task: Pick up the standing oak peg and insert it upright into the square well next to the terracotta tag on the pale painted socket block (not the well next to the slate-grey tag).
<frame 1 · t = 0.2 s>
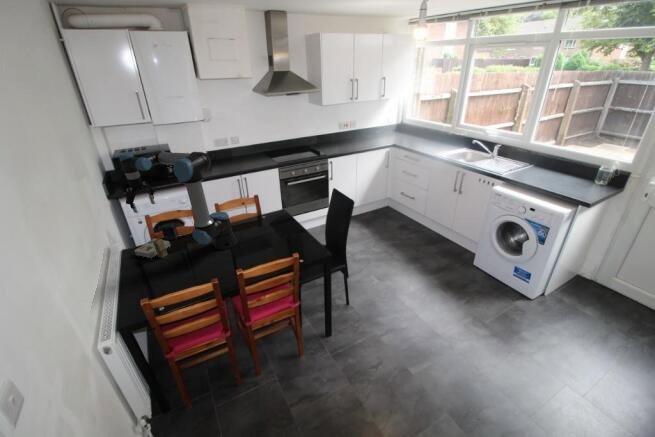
hand: (144, 208, 212), 27 cm above the table, fingers open, 13 cm apart
socket block: (153, 250, 216), on the table
box: (172, 238, 230), on the table
peg: (163, 256, 209), on the table
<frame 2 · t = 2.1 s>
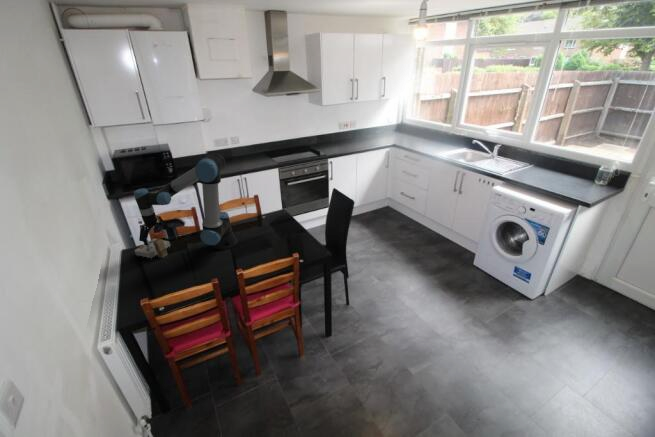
hand: (158, 243, 204), 10 cm above the table, fingers open, 13 cm apart
nothing on the table moved.
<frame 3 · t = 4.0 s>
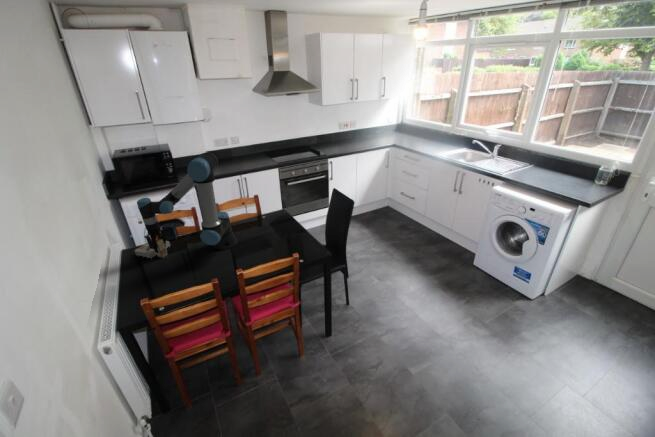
hand: (162, 253, 208), 2 cm above the table, fingers closed on peg, 4 cm apart
peg: (163, 256, 209), on the table, touching gripper
everything else where it was.
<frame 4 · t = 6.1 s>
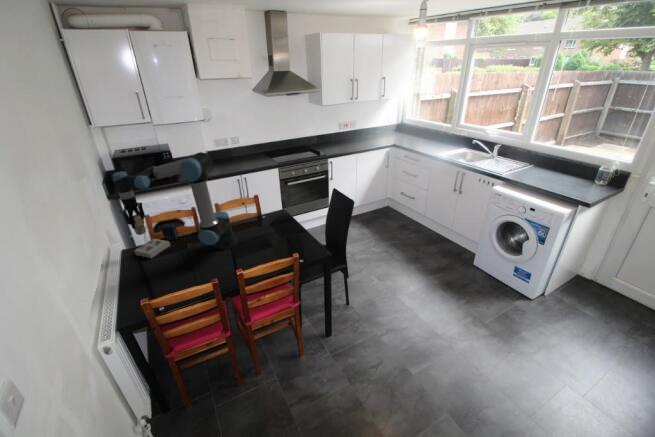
hand: (140, 230, 205), 18 cm above the table, fingers closed on peg, 4 cm apart
peg: (141, 233, 206), point 16 cm above the table, touching gripper
everything else where it was.
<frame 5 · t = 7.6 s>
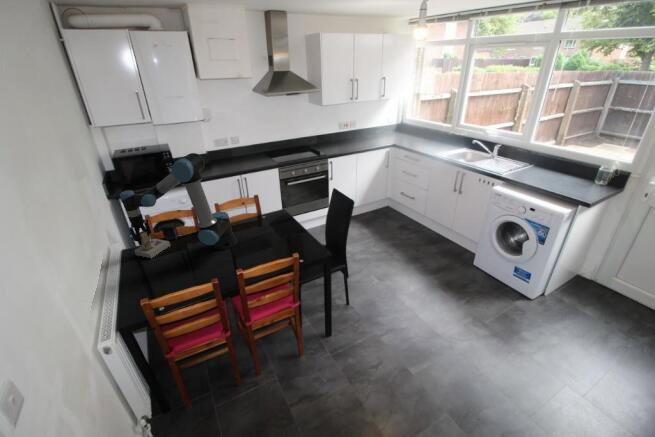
hand: (146, 246, 210), 6 cm above the table, fingers closed on peg, 4 cm apart
peg: (147, 248, 211), point 4 cm above the table, touching gripper
everything else where it was.
when the fingers open (5 cm above the table, at t = 8.6 s): peg drops 2 cm, resting on socket block.
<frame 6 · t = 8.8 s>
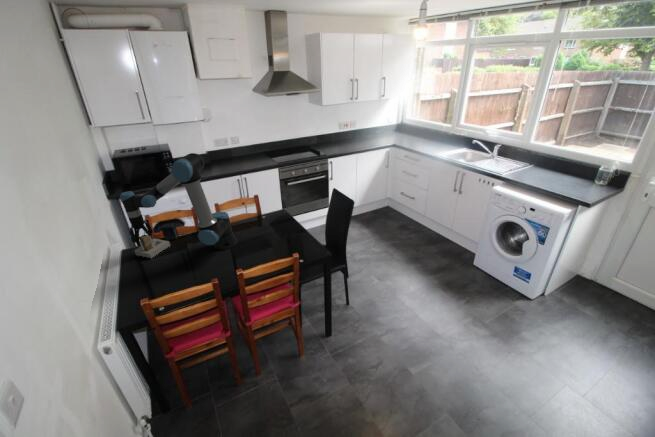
hand: (146, 246, 210), 5 cm above the table, fingers open, 7 cm apart
peg: (148, 252, 212), point 1 cm above the table, touching socket block
everything else where it was.
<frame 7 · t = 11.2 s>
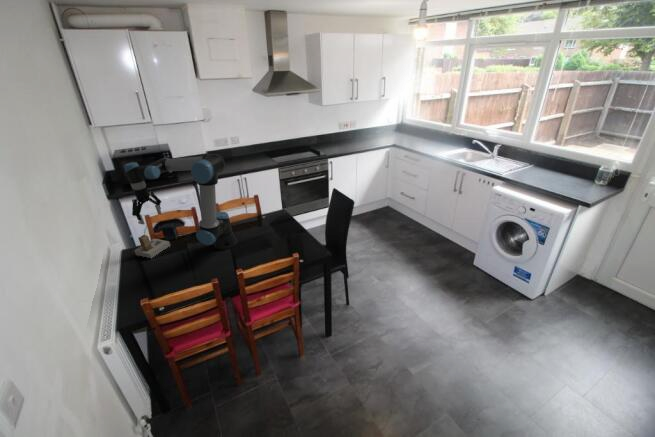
hand: (151, 219, 204), 24 cm above the table, fingers open, 13 cm apart
nothing on the table moved.
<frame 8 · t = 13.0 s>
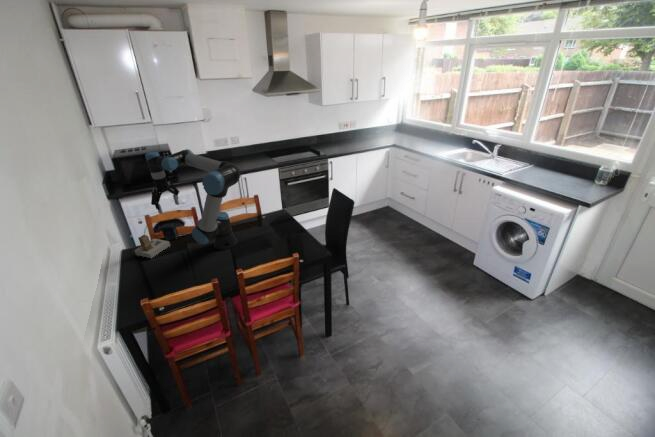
hand: (169, 208, 205), 29 cm above the table, fingers open, 13 cm apart
nothing on the table moved.
at the end: peg 0.0 cm from the target spot on the socket block, point 1.0 cm above the socket block's base; peg tilted 0°; the gripper is holding nothing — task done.
